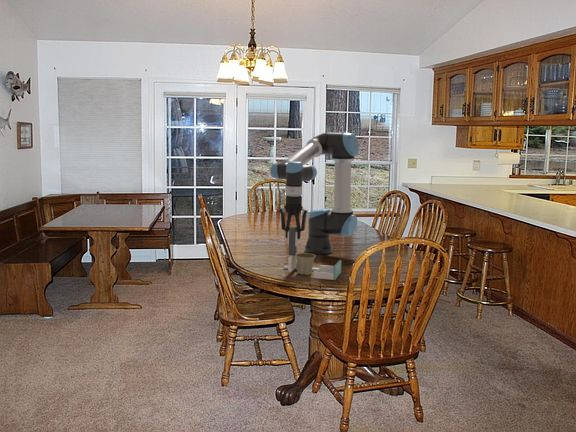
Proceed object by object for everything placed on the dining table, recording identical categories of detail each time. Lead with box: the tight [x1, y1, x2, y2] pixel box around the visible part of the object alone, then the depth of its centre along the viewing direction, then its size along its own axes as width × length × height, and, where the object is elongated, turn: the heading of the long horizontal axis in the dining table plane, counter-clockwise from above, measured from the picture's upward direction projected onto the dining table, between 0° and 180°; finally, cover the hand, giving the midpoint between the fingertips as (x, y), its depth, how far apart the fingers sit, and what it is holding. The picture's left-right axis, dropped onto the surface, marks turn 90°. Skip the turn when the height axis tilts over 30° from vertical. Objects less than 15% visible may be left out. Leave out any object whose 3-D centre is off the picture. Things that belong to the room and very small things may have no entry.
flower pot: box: [295, 252, 317, 276], centre depth 285 cm, size 9×9×9 cm
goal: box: [313, 259, 342, 281], centre depth 282 cm, size 14×10×6 cm
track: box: [283, 265, 320, 272], centre depth 293 cm, size 2×17×1 cm, turn 75°
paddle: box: [287, 226, 298, 273], centre depth 287 cm, size 13×4×20 cm, turn 165°
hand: (292, 245), depth 285 cm, fingers closed on paddle, 3 cm apart
